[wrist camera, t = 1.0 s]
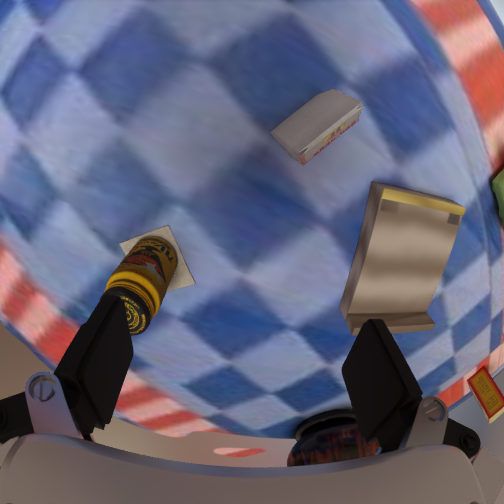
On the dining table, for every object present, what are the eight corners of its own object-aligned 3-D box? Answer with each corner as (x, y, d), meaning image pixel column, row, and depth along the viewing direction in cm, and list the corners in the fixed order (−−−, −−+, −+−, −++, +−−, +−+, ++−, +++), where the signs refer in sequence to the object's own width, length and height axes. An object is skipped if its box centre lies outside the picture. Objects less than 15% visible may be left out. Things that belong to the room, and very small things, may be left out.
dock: (371, 181, 30) (395, 194, 24) (451, 200, 31) (478, 214, 25) (339, 307, 38) (351, 335, 32) (414, 306, 38) (431, 330, 33)
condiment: (168, 224, 32) (133, 276, 21) (195, 283, 35) (178, 349, 24) (120, 242, 32) (75, 295, 22) (148, 296, 36) (120, 359, 25)
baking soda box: (485, 375, 54) (506, 410, 40) (470, 388, 56) (490, 425, 42) (483, 365, 51) (508, 404, 36) (467, 380, 53) (489, 420, 38)
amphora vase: (269, 441, 57) (276, 539, 31) (307, 399, 48) (330, 528, 23) (341, 442, 60) (359, 525, 35) (388, 400, 51) (423, 500, 26)
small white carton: (269, 132, 27) (282, 135, 18) (316, 94, 26) (349, 83, 17) (292, 157, 29) (314, 173, 20) (337, 120, 27) (378, 121, 18)
